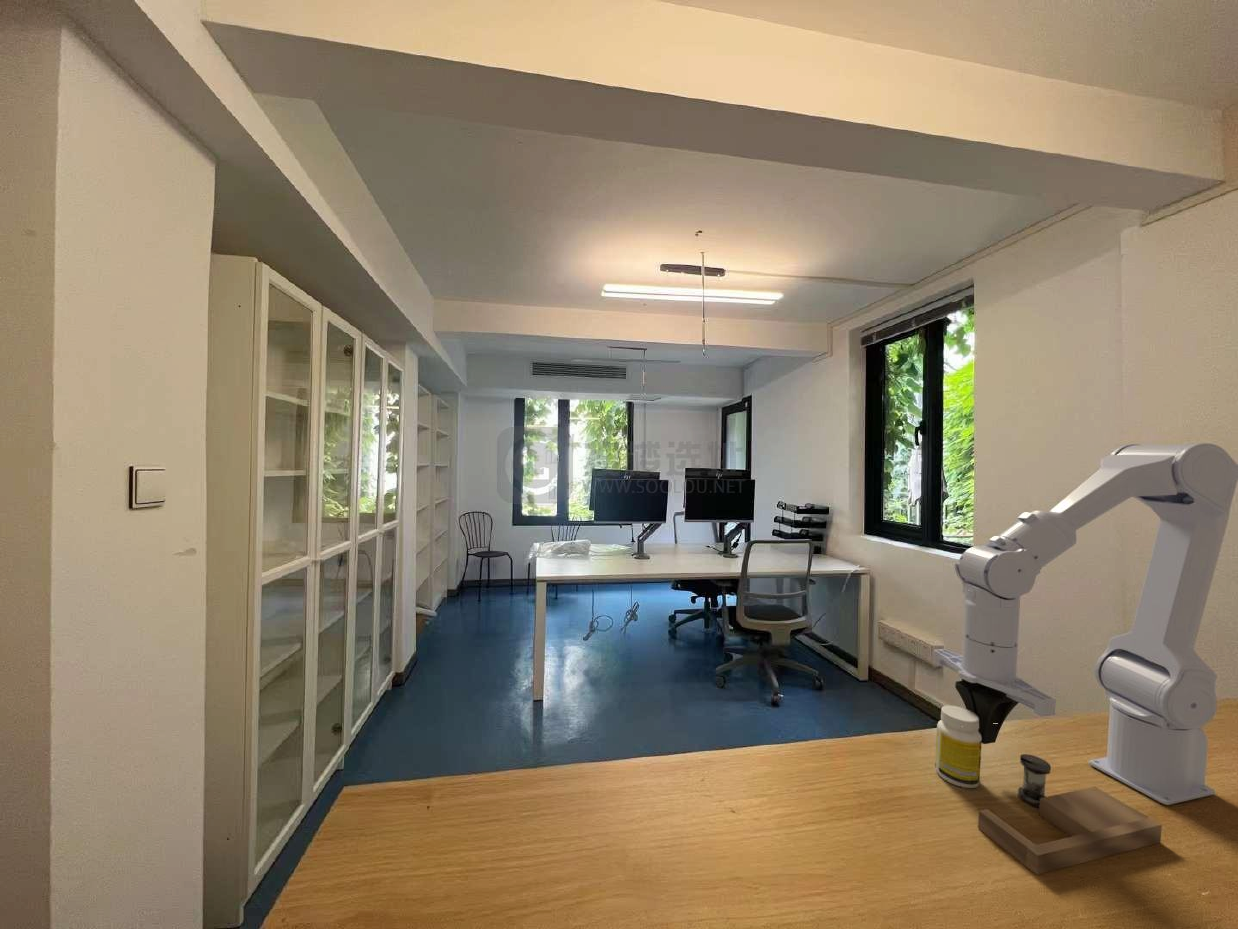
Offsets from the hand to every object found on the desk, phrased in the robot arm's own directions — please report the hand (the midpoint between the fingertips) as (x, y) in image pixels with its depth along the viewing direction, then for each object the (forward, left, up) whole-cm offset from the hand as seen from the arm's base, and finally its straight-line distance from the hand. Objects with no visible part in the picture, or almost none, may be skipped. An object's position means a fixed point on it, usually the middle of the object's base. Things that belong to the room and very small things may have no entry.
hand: (984, 740), depth 63 cm
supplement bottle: (+5, 0, -4) cm, 6 cm away
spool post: (-1, +5, -4) cm, 7 cm away
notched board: (+1, +10, -4) cm, 11 cm away
